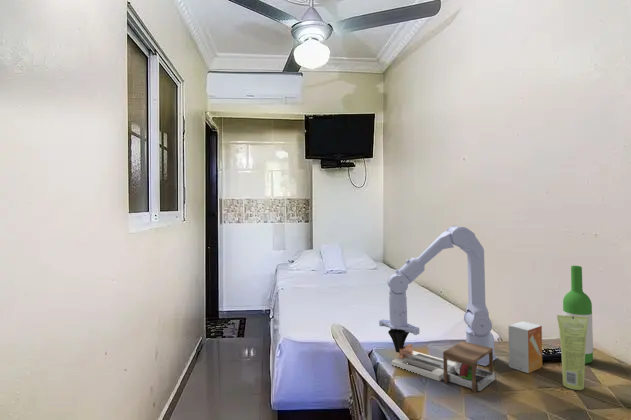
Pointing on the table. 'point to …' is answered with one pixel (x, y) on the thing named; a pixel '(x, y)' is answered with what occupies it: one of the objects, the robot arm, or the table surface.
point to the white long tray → (451, 370)
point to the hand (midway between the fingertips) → (399, 351)
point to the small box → (525, 346)
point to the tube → (573, 349)
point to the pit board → (422, 366)
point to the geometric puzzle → (465, 370)
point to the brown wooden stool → (467, 358)
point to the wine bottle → (580, 307)
